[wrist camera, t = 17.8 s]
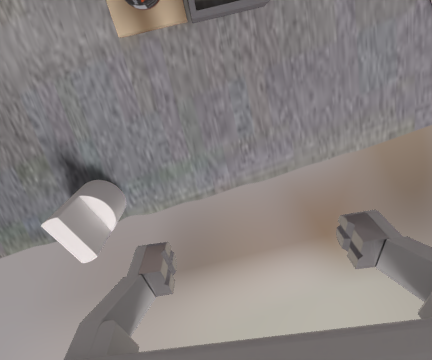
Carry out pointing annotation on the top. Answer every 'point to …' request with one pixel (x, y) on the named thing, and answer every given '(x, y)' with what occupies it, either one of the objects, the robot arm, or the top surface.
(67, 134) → the top surface
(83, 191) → the base with upright slab
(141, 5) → the supplement bottle
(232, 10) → the holder
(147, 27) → the coaster
